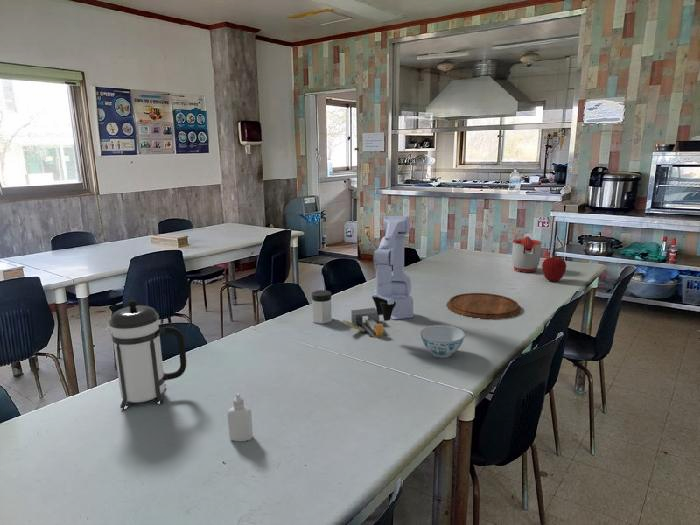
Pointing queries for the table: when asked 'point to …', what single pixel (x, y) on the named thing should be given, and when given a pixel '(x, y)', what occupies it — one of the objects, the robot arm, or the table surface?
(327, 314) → the jar
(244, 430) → the eye dropper bottle
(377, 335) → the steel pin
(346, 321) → the keeper tab
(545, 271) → the apple
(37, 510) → the table surface
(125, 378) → the coffee press
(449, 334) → the chinaware
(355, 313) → the hitch block
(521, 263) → the citrus juicer
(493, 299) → the cutting board
